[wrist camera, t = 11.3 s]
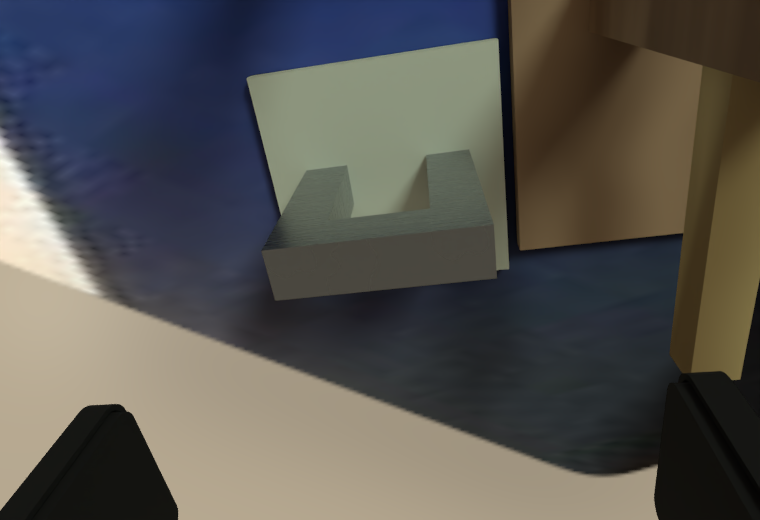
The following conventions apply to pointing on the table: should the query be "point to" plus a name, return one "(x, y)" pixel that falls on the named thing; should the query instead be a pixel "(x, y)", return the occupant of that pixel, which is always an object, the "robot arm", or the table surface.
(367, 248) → the grey u-shaped block
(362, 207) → the mat
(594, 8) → the stand
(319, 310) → the table surface
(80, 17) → the table surface
